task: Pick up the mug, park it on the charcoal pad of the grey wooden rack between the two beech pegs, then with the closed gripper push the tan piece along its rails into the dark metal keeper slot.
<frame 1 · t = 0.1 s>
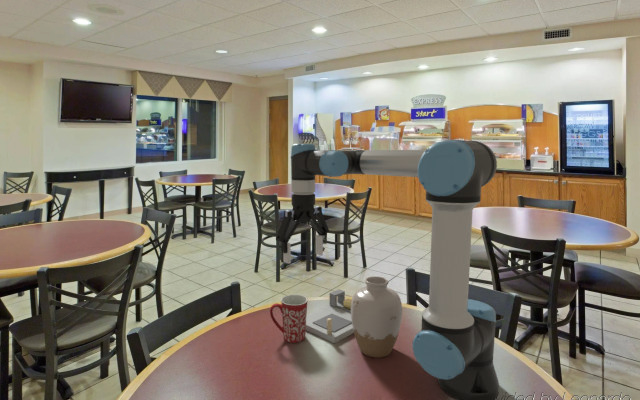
hand: (303, 258, 123), 28 cm above the table, fingers open, 13 cm apart
white rounded vessel: (375, 350, 120), on the table
tan piece: (352, 306, 144), point 4 cm above the table, slide at 0.0 cm
rack: (336, 322, 139), on the table
mug: (289, 338, 128), on the table
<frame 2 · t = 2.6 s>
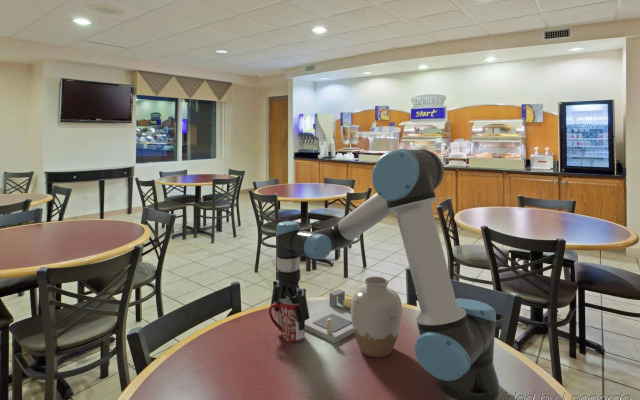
hand: (289, 333, 128), 2 cm above the table, fingers closed on mug, 9 cm apart
mug: (288, 337, 128), on the table, touching gripper
everything else where it was.
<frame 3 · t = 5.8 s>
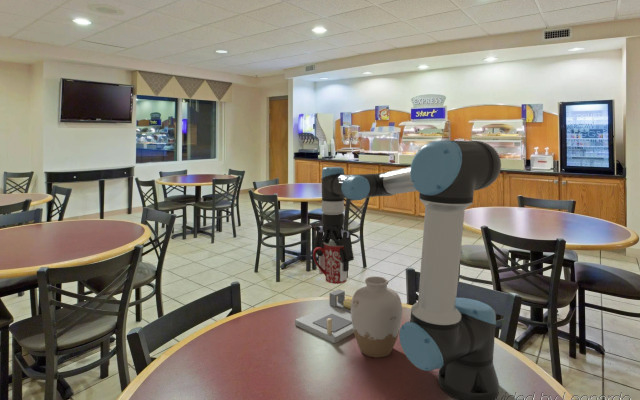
hand: (332, 276, 132), 19 cm above the table, fingers closed on mug, 9 cm apart
mug: (331, 280, 133), point 17 cm above the table, touching gripper
everything else where it was.
when the fingers open (5 cm above the table, at t = 8.7 s): mug drops 2 cm, resting on rack.
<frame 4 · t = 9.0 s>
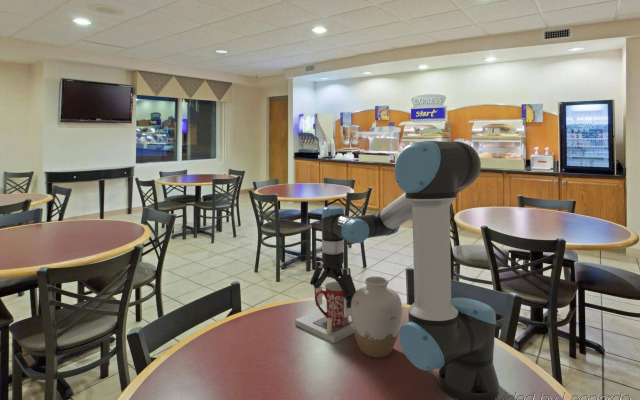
hand: (332, 310, 134), 7 cm above the table, fingers open, 13 cm apart
mug: (333, 323, 134), point 2 cm above the table, touching rack
everything else where it was.
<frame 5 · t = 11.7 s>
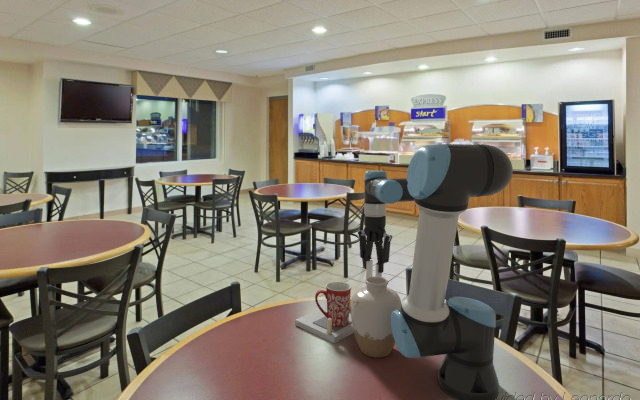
hand: (373, 279, 136), 17 cm above the table, fingers open, 3 cm apart
nothing on the table moved.
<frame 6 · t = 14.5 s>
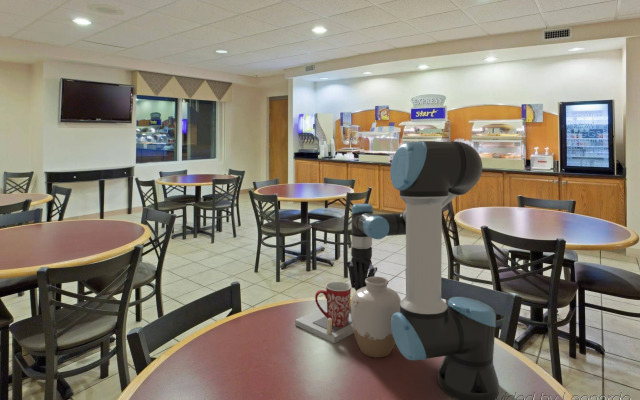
hand: (360, 307, 142), 4 cm above the table, fingers closed
tan piece: (351, 305, 145), point 4 cm above the table, slide at 0.6 cm, touching gripper
everything else where it was.
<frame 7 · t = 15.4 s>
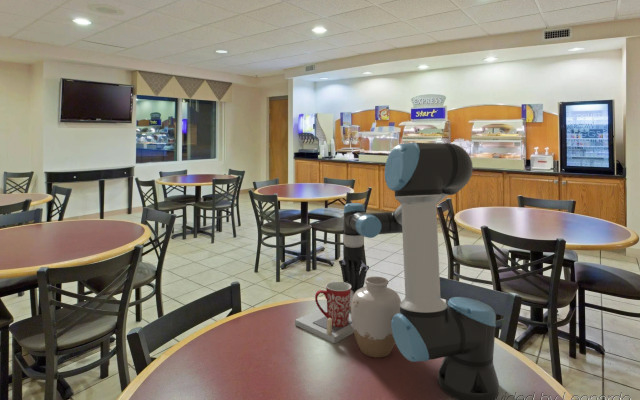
hand: (353, 305, 144), 4 cm above the table, fingers closed
tan piece: (344, 303, 147), point 4 cm above the table, slide at 4.2 cm, touching gripper
everything else where it was.
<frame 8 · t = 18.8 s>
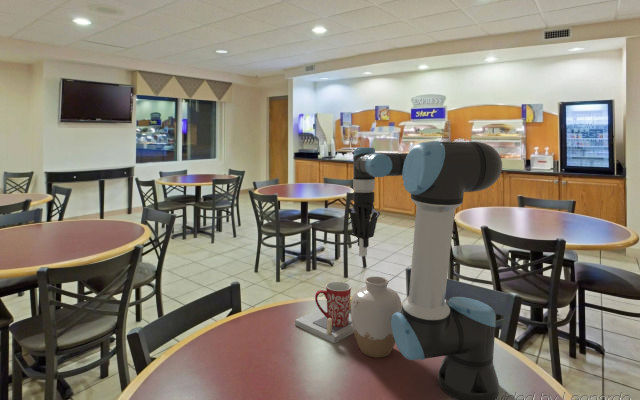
hand: (363, 255, 139), 24 cm above the table, fingers closed
tan piece: (344, 303, 147), point 4 cm above the table, slide at 4.2 cm
everything else where it was.
at the end: mug inside the target area on the rack (0.4 cm from its centre), point 2.1 cm above the rack's base; mug tilted 0°; tan piece slide at 4.2 cm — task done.
